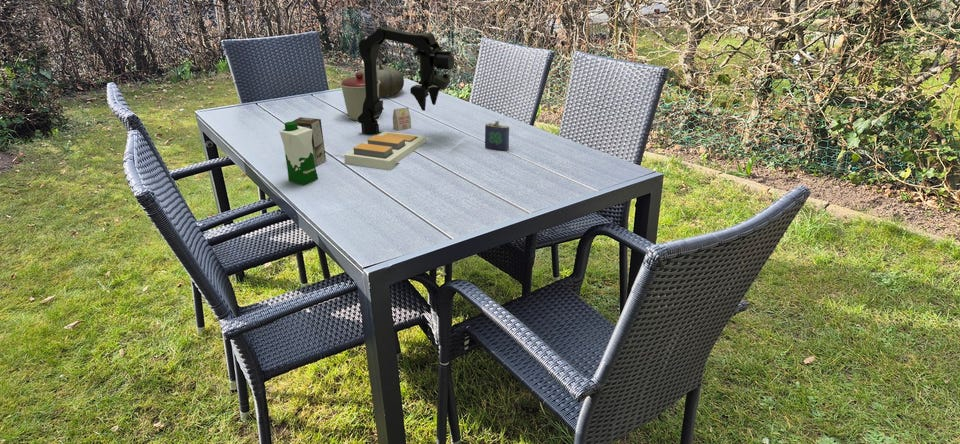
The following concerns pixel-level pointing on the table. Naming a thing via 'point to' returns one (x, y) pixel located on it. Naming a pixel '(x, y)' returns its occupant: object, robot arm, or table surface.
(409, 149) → the cream board with panels
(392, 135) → the orange cabinet drawer
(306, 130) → the milk carton
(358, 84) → the canister
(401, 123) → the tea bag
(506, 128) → the flask
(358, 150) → the switch
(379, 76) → the gourd
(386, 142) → the orange drawer
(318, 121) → the coffee box
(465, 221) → the table surface
